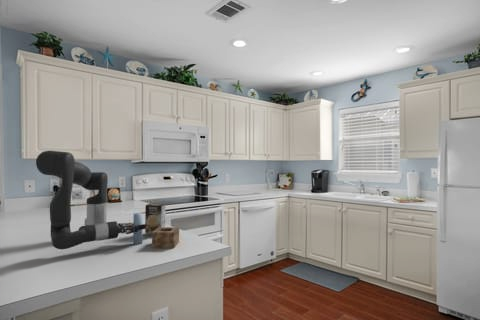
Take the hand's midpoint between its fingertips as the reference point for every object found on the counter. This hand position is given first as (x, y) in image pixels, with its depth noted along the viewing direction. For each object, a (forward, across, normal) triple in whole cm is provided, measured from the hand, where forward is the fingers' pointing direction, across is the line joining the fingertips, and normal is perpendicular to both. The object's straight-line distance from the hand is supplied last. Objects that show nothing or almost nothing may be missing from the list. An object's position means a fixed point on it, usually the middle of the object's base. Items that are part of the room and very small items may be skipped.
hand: (143, 225), depth 135 cm
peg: (-3, 0, +8) cm, 8 cm away
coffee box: (+10, +11, +8) cm, 17 cm away
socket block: (+7, -11, +8) cm, 15 cm away
